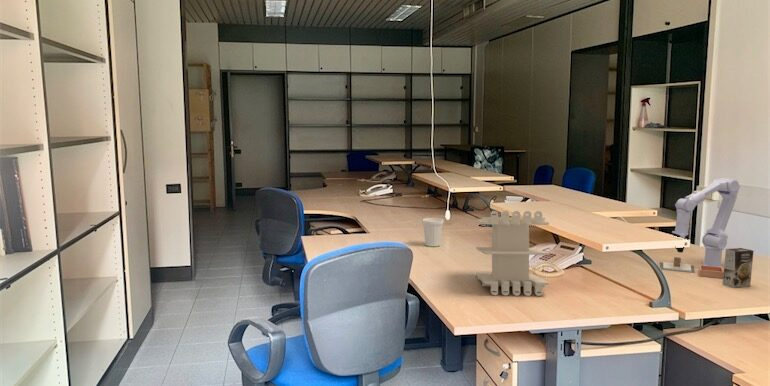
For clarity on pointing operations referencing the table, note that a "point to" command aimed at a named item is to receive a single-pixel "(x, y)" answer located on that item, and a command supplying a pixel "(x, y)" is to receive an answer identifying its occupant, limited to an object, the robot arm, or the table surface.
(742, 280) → the coffee box
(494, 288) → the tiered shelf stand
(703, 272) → the open box
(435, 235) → the cup
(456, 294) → the table surface
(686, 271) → the mat
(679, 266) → the lid
